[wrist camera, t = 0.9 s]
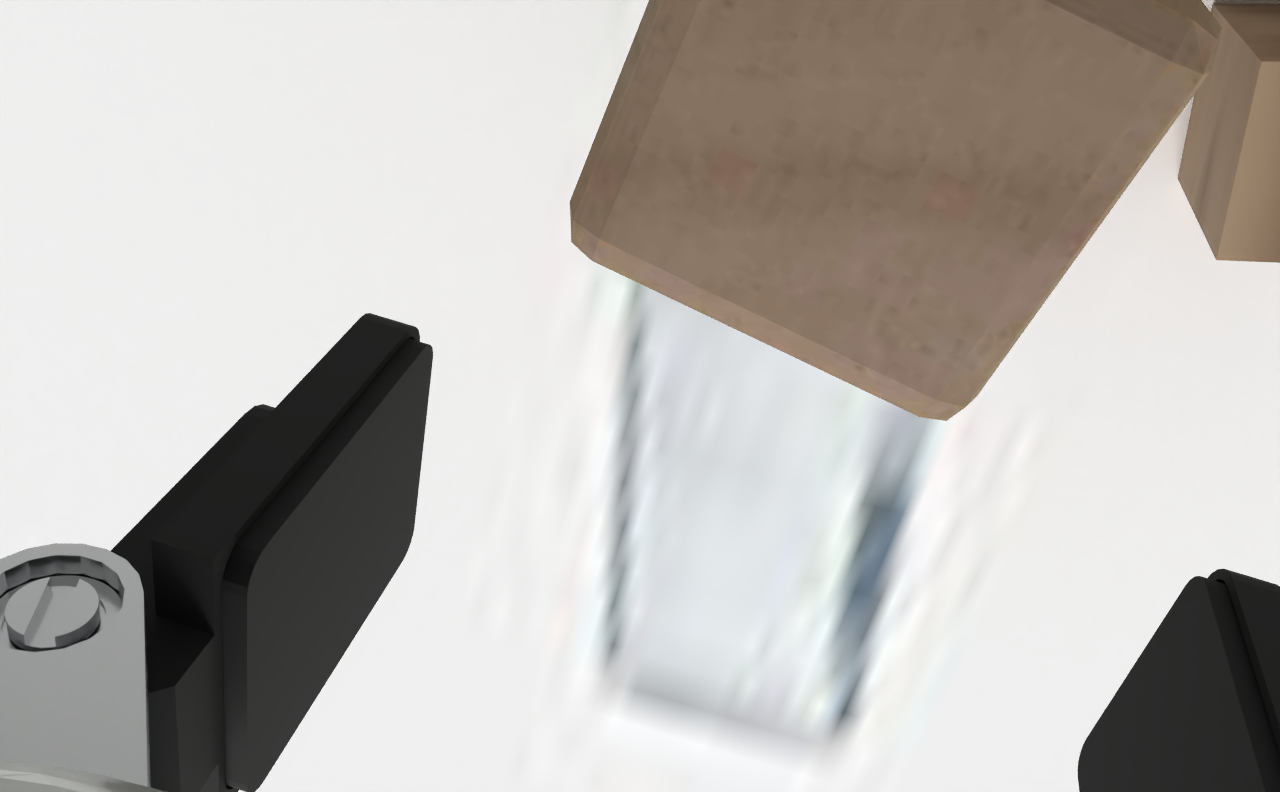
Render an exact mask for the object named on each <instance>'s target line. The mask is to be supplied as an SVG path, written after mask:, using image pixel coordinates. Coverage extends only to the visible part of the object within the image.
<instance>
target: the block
mask: <svg viewBox="0 0 1280 792" xmlns="http://www.w3.org/2000/svg"><path fill="white" fill-rule="evenodd" d="M1221 30H1222V27H1221V26H1220V25H1219V23H1218V22H1217V21H1216V19H1215V18H1214V17H1213V15H1212V14H1211V13H1210V11H1209V10H1208V9H1207V7H1206V6H1205V5H1204V3H1203V2H1202V1H1201V0H649V2H648V5H647V7H646V10H645V13H644V15H643V18H642V20H641V23H640V25H639V28H638V30H637V33H636V35H635V38H634V40H633V43H632V45H631V48H630V51H629V53H628V56H627V58H626V61H625V63H624V66H623V68H622V71H621V73H620V76H619V78H618V81H617V84H616V86H615V89H614V91H613V94H612V96H611V99H610V101H609V104H608V106H607V109H606V111H605V114H604V117H603V119H602V122H601V124H600V127H599V129H598V132H597V134H596V137H595V139H594V142H593V144H592V147H591V150H590V152H589V155H588V157H587V160H586V162H585V165H584V167H583V170H582V172H581V175H580V177H579V180H578V182H577V185H576V188H575V190H574V193H573V195H572V198H571V200H570V214H571V242H572V243H573V244H574V245H575V246H576V247H578V248H579V249H580V250H581V251H582V252H583V253H584V254H585V255H586V256H587V257H588V258H590V259H591V260H592V261H594V262H596V263H598V264H600V265H602V266H604V267H606V268H608V269H611V270H613V271H615V272H617V273H619V274H621V275H623V276H625V277H627V278H629V279H632V280H634V281H636V282H638V283H640V284H642V285H644V286H646V287H648V288H650V289H652V290H655V291H657V292H659V293H661V294H663V295H665V296H667V297H669V298H671V299H673V300H676V301H678V302H680V303H682V304H684V305H686V306H688V307H690V308H692V309H694V310H697V311H699V312H701V313H703V314H705V315H707V316H709V317H711V318H713V319H715V320H718V321H720V322H722V323H724V324H726V325H728V326H730V327H732V328H734V329H736V330H738V331H741V332H743V333H745V334H747V335H749V336H751V337H753V338H755V339H757V340H759V341H762V342H764V343H766V344H768V345H770V346H772V347H774V348H776V349H778V350H780V351H783V352H785V353H787V354H789V355H791V356H793V357H795V358H797V359H799V360H801V361H804V362H806V363H808V364H810V365H812V366H814V367H816V368H818V369H820V370H822V371H824V372H827V373H829V374H831V375H833V376H835V377H837V378H839V379H841V380H843V381H845V382H848V383H850V384H852V385H854V386H856V387H858V388H860V389H862V390H864V391H866V392H869V393H871V394H873V395H875V396H877V397H879V398H881V399H883V400H885V401H887V402H889V403H892V404H894V405H896V406H898V407H900V408H902V409H904V410H906V411H908V412H910V413H913V414H915V415H917V416H919V417H924V418H931V419H938V420H945V421H947V420H948V419H949V418H951V417H952V416H954V415H955V414H956V413H958V412H959V411H961V410H962V409H963V408H965V407H966V406H967V405H968V404H969V403H970V402H971V401H972V400H973V399H974V398H975V397H976V396H977V395H978V394H979V392H980V391H981V390H982V388H983V387H984V385H985V384H986V383H987V381H988V380H989V378H990V377H991V376H992V374H993V373H994V372H995V370H996V369H997V367H998V366H999V365H1000V363H1001V362H1002V360H1003V359H1004V358H1005V356H1006V355H1007V353H1008V352H1009V351H1010V349H1011V348H1012V347H1013V345H1014V344H1015V342H1016V341H1017V340H1018V338H1019V337H1020V335H1021V334H1022V333H1023V331H1024V330H1025V328H1026V327H1027V326H1028V324H1029V323H1030V322H1031V320H1032V319H1033V317H1034V316H1035V315H1036V313H1037V312H1038V310H1039V309H1040V308H1041V306H1042V305H1043V303H1044V302H1045V301H1046V299H1047V298H1048V296H1049V295H1050V294H1051V292H1052V291H1053V290H1054V288H1055V287H1056V285H1057V284H1058V283H1059V281H1060V280H1061V278H1062V277H1063V276H1064V274H1065V273H1066V271H1067V270H1068V269H1069V267H1070V266H1071V265H1072V263H1073V262H1074V260H1075V259H1076V258H1077V256H1078V255H1079V253H1080V252H1081V251H1082V249H1083V248H1084V246H1085V245H1086V244H1087V242H1088V241H1089V240H1090V238H1091V237H1092V235H1093V234H1094V233H1095V231H1096V230H1097V228H1098V227H1099V226H1100V224H1101V223H1102V221H1103V220H1104V219H1105V217H1106V216H1107V215H1108V213H1109V212H1110V210H1111V209H1112V208H1113V206H1114V205H1115V203H1116V202H1117V201H1118V199H1119V198H1120V196H1121V195H1122V194H1123V192H1124V191H1125V190H1126V188H1127V187H1128V185H1129V184H1130V183H1131V181H1132V180H1133V178H1134V177H1135V176H1136V174H1137V173H1138V171H1139V170H1140V169H1141V167H1142V166H1143V165H1144V163H1145V162H1146V160H1147V159H1148V158H1149V156H1150V155H1151V153H1152V152H1153V151H1154V149H1155V148H1156V146H1157V145H1158V144H1159V142H1160V141H1161V139H1162V138H1163V137H1164V135H1165V134H1166V133H1167V131H1168V130H1169V128H1170V127H1171V126H1172V124H1173V123H1174V121H1175V120H1176V119H1177V117H1178V116H1179V114H1180V113H1181V112H1182V110H1183V109H1184V108H1185V106H1186V105H1187V103H1188V102H1189V101H1190V99H1191V98H1192V96H1193V95H1194V94H1195V92H1196V91H1197V89H1198V88H1199V87H1200V85H1201V84H1202V83H1203V81H1204V80H1205V78H1206V77H1207V76H1208V74H1209V73H1210V71H1211V69H1212V65H1213V61H1214V57H1215V53H1216V49H1217V46H1218V42H1219V38H1220V34H1221Z"/></svg>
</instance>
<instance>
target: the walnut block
mask: <svg viewBox="0 0 1280 792" xmlns="http://www.w3.org/2000/svg"><path fill="white" fill-rule="evenodd" d="M1211 14H1212V15H1213V17H1214V18H1215V19H1216V21H1217V22H1218V23H1219V25H1220V26H1221V27H1222V30H1221V34H1220V38H1219V42H1218V46H1217V49H1216V53H1215V57H1214V61H1213V65H1212V69H1211V71H1210V73H1209V74H1208V76H1207V77H1206V78H1205V80H1204V81H1203V83H1202V84H1201V85H1200V87H1199V88H1198V89H1197V91H1196V92H1195V95H1194V100H1193V105H1192V110H1191V115H1190V120H1189V125H1188V130H1187V135H1186V140H1185V145H1184V150H1183V155H1182V160H1181V165H1180V170H1179V175H1178V180H1179V182H1180V184H1181V187H1182V189H1183V191H1184V193H1185V195H1186V197H1187V199H1188V201H1189V203H1190V205H1191V208H1192V210H1193V212H1194V214H1195V216H1196V218H1197V220H1198V222H1199V224H1200V227H1201V229H1202V231H1203V233H1204V235H1205V237H1206V239H1207V241H1208V243H1209V246H1210V248H1211V250H1212V252H1213V254H1214V256H1215V258H1216V260H1230V261H1255V262H1280V4H1213V5H1212V10H1211Z"/></svg>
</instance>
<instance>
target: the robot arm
mask: <svg viewBox="0 0 1280 792" xmlns="http://www.w3.org/2000/svg"><path fill="white" fill-rule="evenodd" d="M432 360H433V350H432V347H431V345H428V344H425V343H421V342H420V335H419V330H418V329H417V328H416V327H414V326H411V325H407V324H404V323H401V322H397V321H394V320H391V319H387V318H384V317H381V316H377V315H374V314H371V313H368V314H365V315H363V316H362V317H361V318H360V319H359V320H358V321H357V322H356V323H355V324H354V325H353V326H352V327H351V328H350V329H349V330H348V332H347V333H346V334H345V335H344V336H343V337H342V338H341V339H340V340H339V341H338V342H337V343H336V344H335V345H334V346H333V347H332V348H331V350H330V351H329V352H328V353H327V354H326V355H325V356H324V357H323V358H322V359H321V360H320V361H319V362H318V363H317V364H316V365H315V366H314V368H313V369H312V370H311V371H310V372H309V373H308V374H307V375H306V376H305V377H304V378H303V379H302V380H301V381H300V382H299V383H298V385H297V386H296V387H295V388H294V389H293V390H292V391H291V392H290V393H289V394H288V395H287V396H286V397H285V398H284V399H283V400H282V401H281V403H280V404H279V405H278V406H277V407H276V408H274V407H270V406H267V405H264V404H262V405H258V406H254V407H253V408H252V409H250V410H249V411H248V412H247V413H245V414H244V415H243V416H242V417H241V418H240V419H239V420H238V421H237V422H236V423H235V424H234V426H233V427H232V428H231V429H230V430H229V431H228V432H227V433H226V434H225V435H224V436H223V437H222V438H221V439H220V440H219V441H218V442H217V443H216V444H215V445H214V446H213V447H212V448H211V449H210V450H209V451H208V452H207V453H206V454H205V455H204V456H203V457H202V458H201V459H200V460H199V461H198V462H197V463H196V464H195V465H194V466H193V467H192V468H191V469H190V470H189V471H188V473H187V474H186V475H185V476H184V477H183V478H182V479H181V480H180V481H179V482H178V483H177V484H176V485H175V486H174V487H173V488H172V489H171V490H170V491H169V492H168V493H167V494H166V495H165V496H164V497H163V498H162V499H161V500H160V501H159V502H158V503H157V504H156V505H155V506H154V507H153V508H152V509H151V510H150V511H149V512H148V513H147V514H146V515H145V516H144V517H143V518H142V520H141V521H140V522H139V523H138V524H137V525H136V526H135V527H134V528H133V529H132V530H131V531H130V532H129V533H128V534H127V535H126V536H125V537H124V538H123V539H122V540H121V541H120V542H119V543H118V544H117V545H116V546H115V547H114V548H113V549H112V550H111V551H109V550H107V549H103V548H99V547H94V546H90V545H86V544H50V545H45V546H39V547H34V548H28V549H25V550H23V551H20V552H17V553H15V554H12V555H10V556H7V557H4V558H2V559H0V792H238V790H239V789H240V790H243V791H246V792H255V791H256V790H257V789H258V788H259V787H260V785H261V784H262V783H263V781H264V780H265V778H266V777H267V775H268V773H269V772H270V770H271V769H272V767H273V765H274V764H275V762H276V761H277V759H278V758H279V756H280V754H281V753H282V751H283V750H284V748H285V746H286V745H287V743H288V742H289V740H290V739H291V737H292V735H293V734H294V732H295V731H296V729H297V727H298V726H299V724H300V723H301V721H302V719H303V718H304V716H305V715H306V713H307V712H308V710H309V708H310V707H311V705H312V704H313V702H314V700H315V699H316V697H317V696H318V694H319V693H320V691H321V689H322V688H323V686H324V685H325V683H326V681H327V680H328V678H329V677H330V675H331V674H332V672H333V670H334V669H335V667H336V666H337V664H338V662H339V661H340V659H341V658H342V656H343V655H344V653H345V651H346V650H347V648H348V647H349V645H350V643H351V642H352V640H353V639H354V637H355V635H356V634H357V632H358V631H359V629H360V628H361V626H362V624H363V623H364V621H365V620H366V618H367V616H368V615H369V613H370V612H371V610H372V609H373V607H374V605H375V604H376V602H377V601H378V599H379V597H380V596H381V594H382V593H383V591H384V590H385V588H386V586H387V585H388V583H389V582H390V580H391V578H392V577H393V575H394V574H395V572H396V570H397V569H398V567H399V566H400V564H401V563H402V561H403V559H404V557H405V555H406V553H407V551H408V548H409V545H410V543H411V539H412V536H413V531H414V524H415V515H416V506H417V497H418V488H419V479H420V470H421V460H422V451H423V442H424V433H425V424H426V415H427V406H428V397H429V387H430V378H431V369H432ZM1078 781H1079V790H1080V792H1280V587H1279V586H1278V585H1276V584H1273V583H1269V582H1266V581H1263V580H1259V579H1256V578H1253V577H1249V576H1246V575H1243V574H1239V573H1236V572H1233V571H1229V570H1226V569H1218V570H1216V571H1215V572H1213V573H1212V574H1211V575H1210V576H1209V577H1208V578H1204V577H1200V576H1197V577H1194V578H1192V579H1191V580H1190V581H1189V582H1188V583H1187V585H1186V586H1185V587H1184V589H1183V590H1182V592H1181V594H1180V595H1179V597H1178V598H1177V600H1176V601H1175V603H1174V604H1173V606H1172V607H1171V609H1170V611H1169V612H1168V614H1167V615H1166V617H1165V618H1164V620H1163V621H1162V623H1161V624H1160V626H1159V628H1158V629H1157V631H1156V632H1155V634H1154V635H1153V637H1152V638H1151V640H1150V641H1149V643H1148V645H1147V646H1146V648H1145V649H1144V651H1143V652H1142V654H1141V655H1140V657H1139V658H1138V660H1137V662H1136V663H1135V665H1134V666H1133V668H1132V669H1131V671H1130V672H1129V674H1128V675H1127V677H1126V679H1125V680H1124V682H1123V683H1122V685H1121V686H1120V688H1119V689H1118V691H1117V692H1116V694H1115V696H1114V697H1113V699H1112V700H1111V702H1110V703H1109V705H1108V706H1107V708H1106V709H1105V711H1104V713H1103V714H1102V716H1101V717H1100V719H1099V720H1098V722H1097V723H1096V725H1095V726H1094V728H1093V730H1092V731H1091V733H1090V734H1089V736H1088V737H1087V739H1086V741H1085V743H1084V745H1083V747H1082V750H1081V753H1080V757H1079V763H1078Z"/></svg>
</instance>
